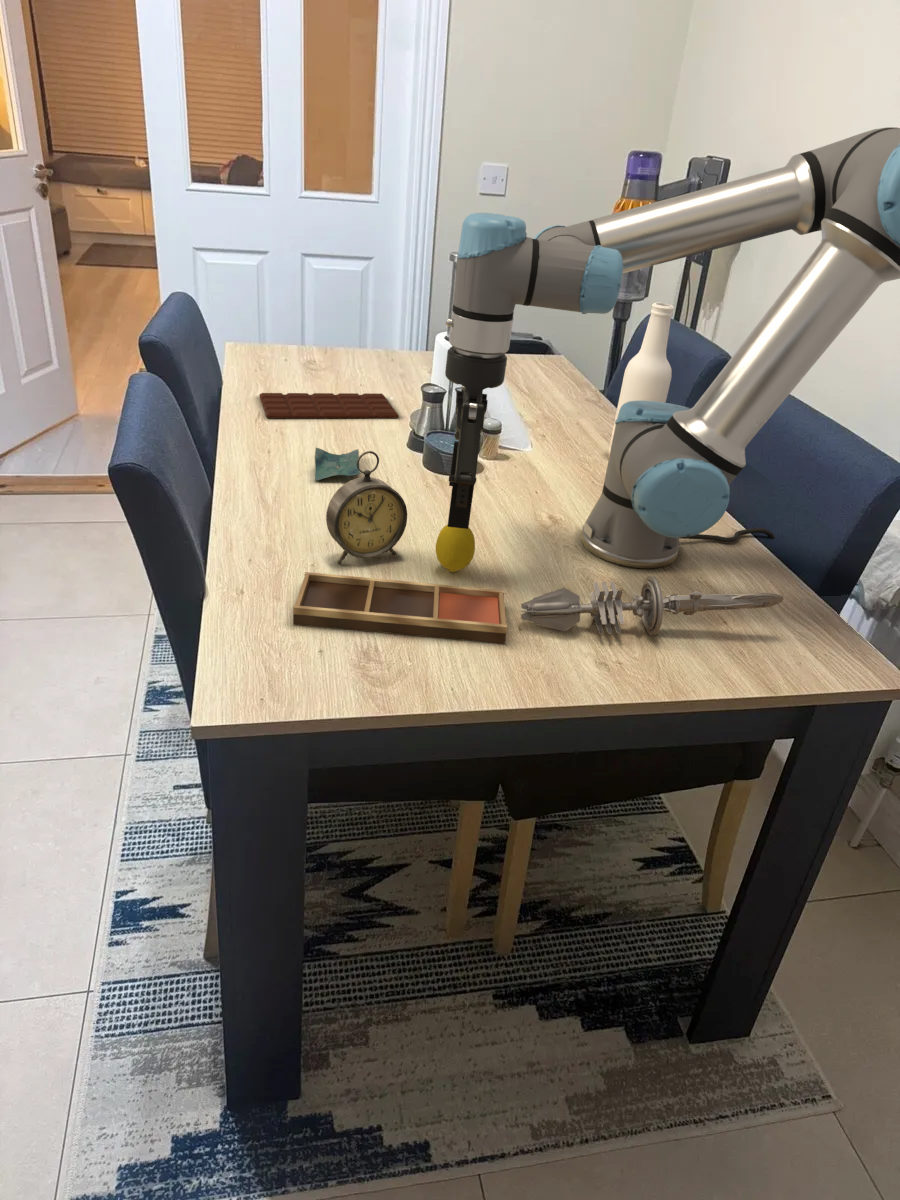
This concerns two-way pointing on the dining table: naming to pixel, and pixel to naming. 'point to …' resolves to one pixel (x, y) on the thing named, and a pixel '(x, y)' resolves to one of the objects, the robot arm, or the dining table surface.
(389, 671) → the dining table surface
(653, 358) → the alcohol
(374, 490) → the alarm clock
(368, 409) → the chocolate bar
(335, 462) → the terrain model
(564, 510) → the dining table surface
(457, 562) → the lemon
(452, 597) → the wooden compartment tray
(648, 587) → the spaceship
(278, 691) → the dining table surface
